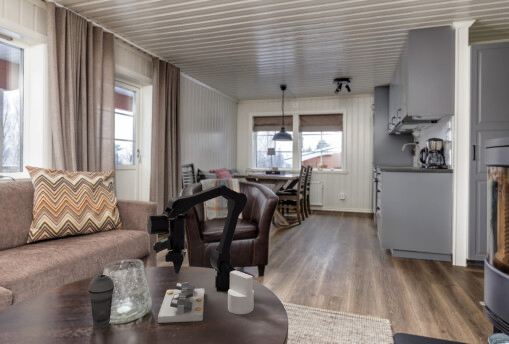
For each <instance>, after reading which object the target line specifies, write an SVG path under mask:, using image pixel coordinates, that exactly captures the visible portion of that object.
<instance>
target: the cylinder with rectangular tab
mask: <svg viewBox="0 0 509 344" xmlns="http://www.w3.org/2000/svg"><path fill="white" fill-rule="evenodd" d="M253 283H254V277H253V275H250V274H247V273H246V272H245V273H244V272H242V271H239V270H237V269H236V270H235V271H232V272H230V289H229V290H228V291H227V310H228V311H229V312H230V313H232V314H234V315H235V314H236V315H246V314H249V313H251V312H253V310H254V309H255V308H254V307H255V305H254V304H255V303H254V300H255V293H254V292H255V291H254V285H253Z"/></svg>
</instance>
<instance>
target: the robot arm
mask: <svg viewBox="0 0 509 344" xmlns="http://www.w3.org/2000/svg"><path fill="white" fill-rule="evenodd" d="M218 197H222V198H223V199H225V200H227V201H226V202H227V204H226V207H227V214H226V219H225V223H224V225H223V229H222V233H221V236H220V240H219V243H218V246H217V248H216V249H212V250H211V255H210V257H209V260H210V265H211V266H212V268H213V269H214V271H215V272H216V275H214V276H215V278H214V280H215V281H214V284H215V285H214V288H215V290H216V291H217V292H228V290H229V289H230V272H232V271H235V270H236V271H237V269H236V268H235V267H233V266H232V265H231V262H232V256H231V247H232V244H233V240H234V236H235V232H236V228H237V225H238V221H239V218H240V215H241V214H242V213H243V211H244V210H245V207H246V206H247V203H248V196H247V194H245V193H243V192H239V191H235V190H233V189H231V188H229V187H227V185H224V184H217V185H216V186H212V187H210V188H207V189H204V190H202V191H198V192H196V193H193V194H189V195H180V196H179V195H178V196H174V197H172V198H171V197H170V198H169V200H168V203H167V205H166V207H165V209H164V210H163V211H162V214H150V215H149V216H148V220H147V224H146V225H147V227H146V228H147V234H148V235H149V236H150V235H160V234H166V233H167V232H169V233H168V236H167V237H166V238H163V239H160V240H158V241H155V242H153V244H152V247H153V249H152V250H153V251H154V252H155V254H158V253H160V252H163V251H164V250H165V251H166V250H167V251H168V252H167V253H166V254H165V256H164V261H165V262H166V263H172V266H173V270H174V272H175V274H177V275H178V274H179V273H180V270H181V268H182V266H183V263H184V261H185V258H186V255H187V252H186V251H185V250H187V249H188V245H189V244H188V242H187V240H186V235H187V234H186V220H191V219H192V217H191V216H190V215H189V214H188V213H187V212H189V211H190V210H191V209H193V208H194V207H195V206H197V205H199V204H200V205H201V204H202V203H206V202H208V201H210V200H212V199H216V198H218Z"/></svg>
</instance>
